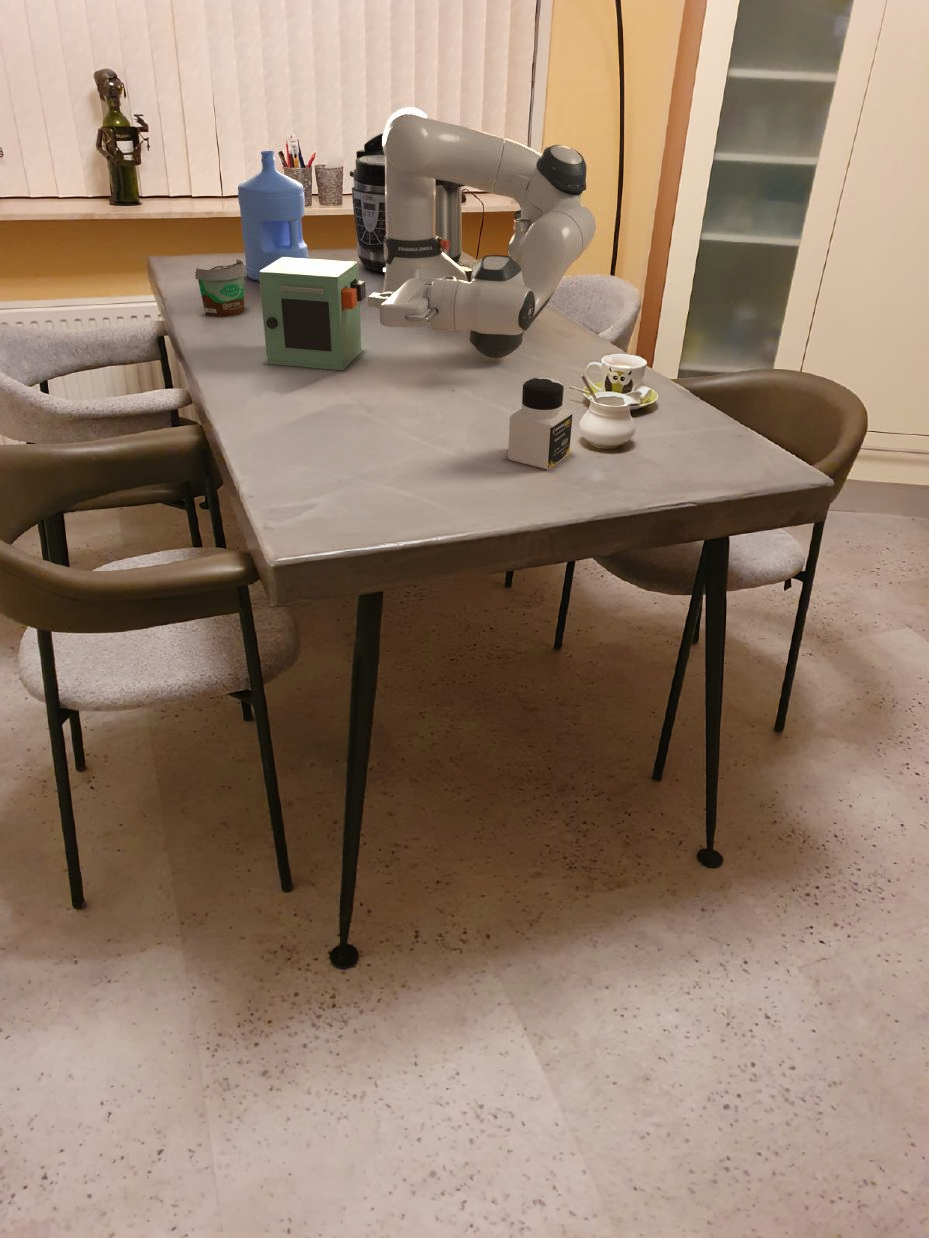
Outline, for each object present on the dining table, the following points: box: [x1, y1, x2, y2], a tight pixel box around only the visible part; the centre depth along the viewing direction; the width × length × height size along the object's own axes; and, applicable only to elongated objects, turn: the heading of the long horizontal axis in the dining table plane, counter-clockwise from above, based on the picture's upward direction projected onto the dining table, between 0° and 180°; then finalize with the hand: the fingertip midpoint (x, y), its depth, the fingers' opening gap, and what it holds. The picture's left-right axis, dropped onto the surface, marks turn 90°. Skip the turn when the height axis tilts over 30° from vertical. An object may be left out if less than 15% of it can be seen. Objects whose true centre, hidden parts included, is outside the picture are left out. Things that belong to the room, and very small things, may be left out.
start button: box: [341, 288, 357, 309], centre depth 176 cm, size 3×3×3 cm
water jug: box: [237, 150, 309, 282], centre depth 232 cm, size 16×16×28 cm
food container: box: [194, 258, 247, 318], centre depth 208 cm, size 12×6×10 cm, turn 143°
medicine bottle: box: [507, 376, 574, 471], centre depth 144 cm, size 7×7×12 cm
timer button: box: [350, 280, 367, 302], centre depth 180 cm, size 3×3×3 cm
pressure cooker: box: [349, 132, 466, 273], centre depth 242 cm, size 30×28×32 cm
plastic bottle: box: [507, 219, 531, 266], centre depth 206 cm, size 6×7×20 cm
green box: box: [258, 257, 362, 371], centre depth 181 cm, size 15×13×17 cm
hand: (369, 299), depth 175 cm, fingers closed
